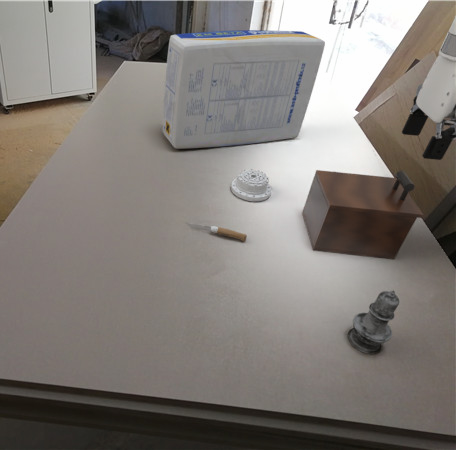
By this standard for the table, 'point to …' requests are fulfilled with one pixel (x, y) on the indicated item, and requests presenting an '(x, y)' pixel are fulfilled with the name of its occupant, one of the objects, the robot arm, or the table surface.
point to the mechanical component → (251, 186)
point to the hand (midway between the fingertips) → (420, 145)
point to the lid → (369, 193)
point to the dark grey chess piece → (374, 324)
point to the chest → (353, 228)
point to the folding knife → (220, 231)
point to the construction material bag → (238, 86)
